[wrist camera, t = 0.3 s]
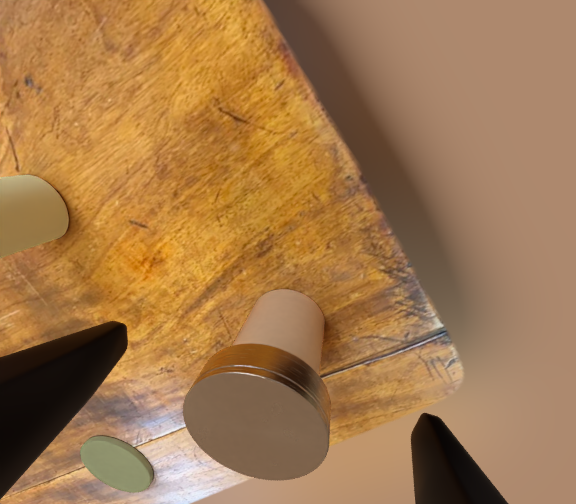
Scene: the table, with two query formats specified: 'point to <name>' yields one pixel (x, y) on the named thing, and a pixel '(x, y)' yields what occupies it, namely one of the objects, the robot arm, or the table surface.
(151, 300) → the table surface
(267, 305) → the jam jar
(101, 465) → the coaster
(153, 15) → the table surface
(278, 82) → the table surface
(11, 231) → the candle
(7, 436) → the robot arm
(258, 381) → the jam lid
